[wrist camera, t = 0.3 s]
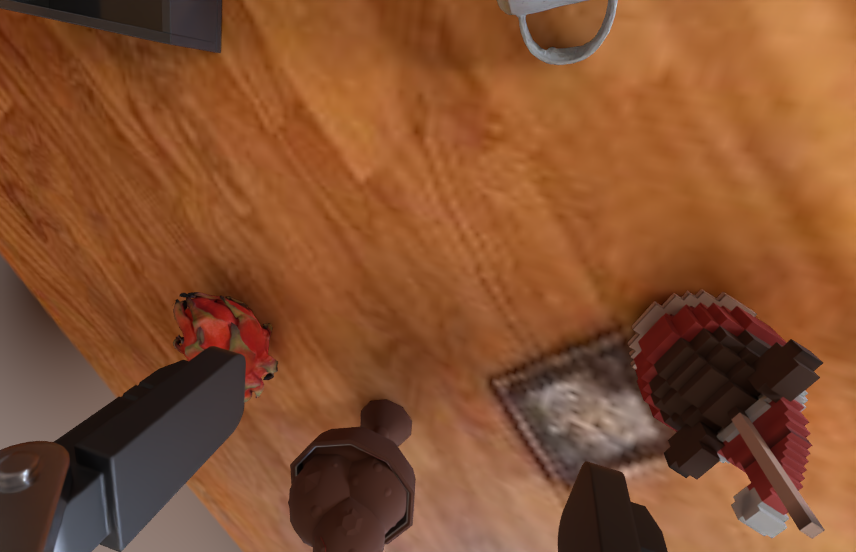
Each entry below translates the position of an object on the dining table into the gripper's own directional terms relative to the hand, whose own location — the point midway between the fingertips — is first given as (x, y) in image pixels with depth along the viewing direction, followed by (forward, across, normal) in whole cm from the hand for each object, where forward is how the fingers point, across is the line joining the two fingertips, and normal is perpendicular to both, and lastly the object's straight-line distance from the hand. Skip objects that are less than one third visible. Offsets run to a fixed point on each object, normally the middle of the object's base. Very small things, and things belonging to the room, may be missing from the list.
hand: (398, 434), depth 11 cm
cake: (+29, -17, +8) cm, 34 cm away
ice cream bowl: (+28, +6, +25) cm, 38 cm away
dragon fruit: (+28, +22, +18) cm, 40 cm away
